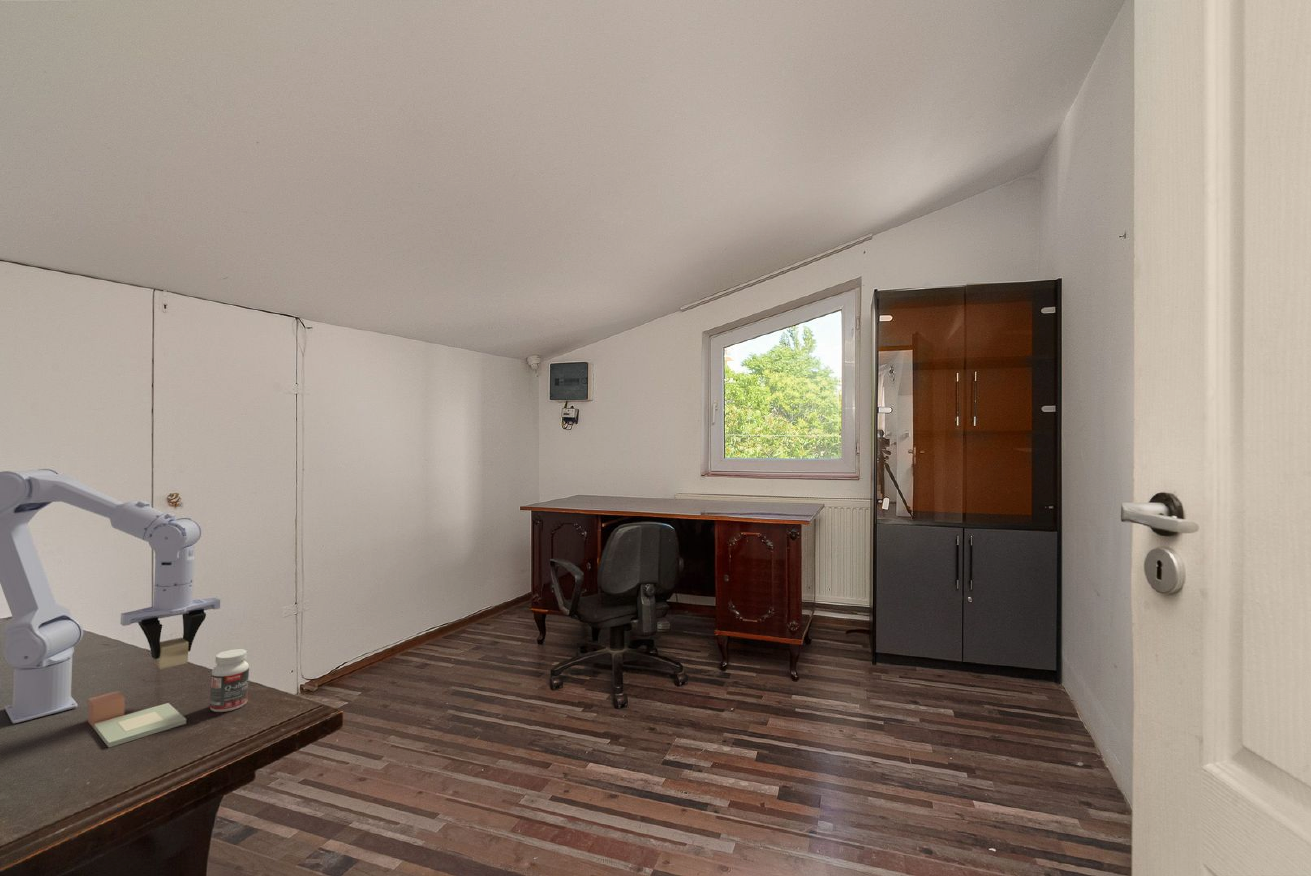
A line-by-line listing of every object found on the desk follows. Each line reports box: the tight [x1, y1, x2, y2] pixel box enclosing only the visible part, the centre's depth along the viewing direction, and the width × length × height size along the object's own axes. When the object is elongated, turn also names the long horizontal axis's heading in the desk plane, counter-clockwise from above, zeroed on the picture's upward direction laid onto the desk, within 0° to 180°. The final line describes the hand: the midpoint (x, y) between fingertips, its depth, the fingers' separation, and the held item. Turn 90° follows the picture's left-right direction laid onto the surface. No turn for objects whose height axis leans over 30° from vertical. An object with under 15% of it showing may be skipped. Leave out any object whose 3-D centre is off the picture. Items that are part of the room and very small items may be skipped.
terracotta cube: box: [87, 690, 126, 729], centre depth 100 cm, size 4×4×4 cm
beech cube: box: [153, 636, 189, 670], centre depth 108 cm, size 4×4×4 cm
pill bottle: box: [209, 648, 250, 713], centre depth 106 cm, size 6×6×10 cm
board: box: [93, 702, 187, 748], centre depth 98 cm, size 10×10×1 cm
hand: (171, 653), depth 108 cm, fingers closed on beech cube, 4 cm apart
